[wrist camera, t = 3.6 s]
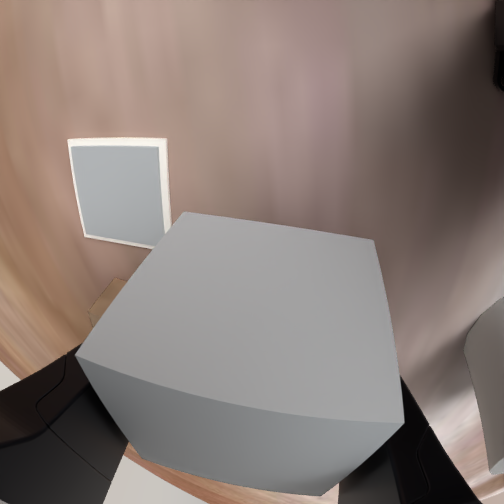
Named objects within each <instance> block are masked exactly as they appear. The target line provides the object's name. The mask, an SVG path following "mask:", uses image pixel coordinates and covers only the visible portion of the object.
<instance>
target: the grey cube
mask: <svg viewBox="0 0 504 504" xmlns="http://www.w3.org/2000/svg"><path fill="white" fill-rule="evenodd" d="M75 356H76V358H77V360H78V362H79V364H80V365H81V367H82V369H83V371H84V373H85V374H86V376H87V378H88V380H89V381H90V383H91V385H92V386H93V388H94V390H95V391H96V393H97V395H98V396H99V398H100V399H101V401H102V403H103V404H104V406H105V407H106V409H107V410H108V412H109V413H110V415H111V416H112V418H113V419H114V421H115V422H116V424H117V425H118V427H119V428H120V429H121V431H122V432H123V434H124V435H125V436H126V438H127V439H128V441H129V442H130V443H131V445H132V446H133V447H134V449H135V450H136V451H137V453H138V454H139V455H140V456H141V458H142V459H145V460H148V461H151V462H153V463H156V464H159V465H162V466H165V467H168V468H172V469H175V470H178V471H181V472H185V473H188V474H192V475H196V476H199V477H203V478H207V479H211V480H215V481H219V482H224V483H228V484H233V485H238V486H243V487H249V488H254V489H260V490H267V491H273V492H281V493H289V494H298V495H309V496H322V495H323V494H325V493H326V492H327V491H329V490H330V489H331V488H333V487H334V486H335V485H336V484H338V483H339V482H340V481H341V480H343V479H344V478H345V477H346V476H348V475H349V474H350V473H351V472H352V471H354V470H355V469H356V468H357V467H358V466H360V465H361V464H362V463H363V462H364V461H365V460H366V459H368V458H369V457H370V456H371V455H372V454H373V453H374V452H375V451H376V450H377V449H378V448H380V447H381V446H382V445H383V444H384V443H385V442H386V441H387V440H388V439H389V438H390V437H391V436H392V435H393V434H394V433H395V432H396V431H397V430H398V429H399V428H400V427H401V426H402V425H403V424H404V411H403V401H402V391H401V383H400V374H399V367H398V360H397V353H396V346H395V340H394V334H393V328H392V322H391V317H390V312H389V306H388V301H387V296H386V292H385V287H384V282H383V278H382V273H381V269H380V265H379V260H378V256H377V252H376V248H375V244H374V240H371V239H365V238H359V237H353V236H347V235H341V234H335V233H329V232H323V231H317V230H310V229H304V228H297V227H291V226H284V225H278V224H271V223H264V222H257V221H251V220H244V219H236V218H229V217H222V216H215V215H207V214H200V213H192V212H183V213H182V214H181V216H180V217H179V218H178V219H177V220H176V222H175V223H174V224H173V225H172V226H171V228H170V229H169V230H168V231H167V232H166V234H165V235H164V236H163V237H162V238H161V240H160V241H159V242H158V243H157V245H156V246H155V247H154V248H153V250H152V251H151V252H150V253H149V255H148V256H147V257H146V258H145V260H144V261H143V262H142V264H141V265H140V266H139V267H138V269H137V270H136V271H135V272H134V274H133V275H132V276H131V278H130V279H129V280H128V282H127V283H126V284H125V286H124V287H123V288H122V290H121V291H120V292H119V294H118V295H117V296H116V298H115V299H114V300H113V302H112V303H111V304H110V306H109V307H108V308H107V310H106V311H105V313H104V314H103V315H102V317H101V318H100V320H99V321H98V322H97V324H96V325H95V327H94V328H93V329H92V331H91V332H90V334H89V335H88V337H87V338H86V339H85V341H84V342H83V344H82V345H81V347H80V348H79V350H78V351H77V353H76V354H75Z"/></svg>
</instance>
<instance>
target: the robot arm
mask: <svg viewBox="0 0 504 504" xmlns="http://www.w3.org/2000/svg"><path fill="white" fill-rule="evenodd" d="M494 44H495V47H496V56H495V66H494V75H493V82H494V85H495V87H496V88H497V89H498V90H499V91H501V92H504V86H503V85H502V84H501V79H502V77H503V78H504V0H497V2H496V19H495V43H494ZM82 344H83V343H82ZM82 344H80V345H78V346H77V347H75V348H74V349H72V350H71V351H69V352H68V353H67V354H66V355H63V356H61V357H60V358H58V359H57V360H55V361H54V362H52V363H51V364H49V365H47V366H46V367H44V368H42V369H41V370H39V371H37V372H35V373H34V374H32V375H30V376H28V377H26V378H24V379H23V380H21V381H19V382H17V383H15V384H13V385H11V386H9V387H7V388H5V389H3V390H2V391H0V504H103V502H104V500H105V497H106V495H107V492H108V490H109V487H110V485H111V481H112V480H113V477H114V475H115V473H116V470H117V468H118V465H119V463H120V461H121V459H122V456H123V454H124V452H125V449H126V447H127V445H128V442H129V441H128V439H127V438H126V436H125V435H124V434H123V432H122V431H121V429H120V428H119V427H118V425H117V424H116V422H115V421H114V419H113V418H112V416H111V415H110V413H109V412H108V410H107V409H106V407H105V406H104V404H103V403H102V401H101V399H100V398H99V396H98V395H97V393H96V391H95V390H94V388H93V386H92V385H91V383H90V381H89V380H88V378H87V376H86V374H85V373H84V371H83V369H82V367H81V365H80V364H79V362H78V360H77V358H76V356H75V354H76V353H77V351H78V350H79V348H80V347H81V345H82ZM400 383H401V391H402V401H403V411H404V424H403V425H402V426H401V427H400V428H399V429H398V430H397V431H396V432H395V433H394V434H393V435H392V436H391V437H390V438H389V439H388V440H387V441H386V442H385V443H384V444H383V445H382V446H381V447H380V448H378V449H377V450H376V451H375V452H374V453H373V454H372V455H371V456H370V457H369V458H368V459H366V460H365V461H364V462H363V463H362V464H361V465H360V466H358V467H357V468H356V469H355V470H354V471H352V472H351V473H350V474H349V475H348V476H346V477H345V478H344V479H343V480H341V481H340V482H339V496H338V504H482V503H481V502H480V501H479V499H478V498H477V497H476V496H475V494H474V493H473V491H472V490H471V488H470V487H469V485H468V484H467V483H466V481H465V480H464V478H463V477H462V475H461V474H460V472H459V471H458V470H457V468H456V467H455V465H454V464H453V462H452V461H451V459H450V458H449V456H448V455H447V453H446V452H445V450H444V448H443V447H442V445H441V443H440V442H439V440H438V438H437V437H436V435H435V433H434V431H433V430H432V428H431V426H429V423H428V421H427V419H426V418H425V416H424V414H423V412H422V411H421V409H420V407H419V406H418V404H417V402H416V400H415V399H414V397H413V395H412V394H411V392H410V390H409V389H408V387H407V385H406V384H405V382H404V381H403V379H402V377H401V376H400ZM428 426H429V427H428Z"/></svg>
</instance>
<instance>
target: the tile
mask: <svg viewBox="0 0 504 504" xmlns="http://www.w3.org/2000/svg"><path fill="white" fill-rule="evenodd" d="M68 148H69V156H70V163H71V169H72V176H73V182H74V188H75V193H76V199H77V204H78V209H79V214H80V218H81V223H82V227H83V232H84V236H85V237H88V238H93V239H99V240H104V241H110V242H115V243H121V244H127V245H132V246H138V247H143V248H149V249H153V248H154V247H155V246H156V245H157V243H158V242H159V241H160V240H161V238H162V237H163V236H164V235H165V234H166V232H167V231H168V230H169V229H170V228H171V226H172V221H171V207H170V191H169V172H168V147H167V138H79V139H68Z"/></svg>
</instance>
